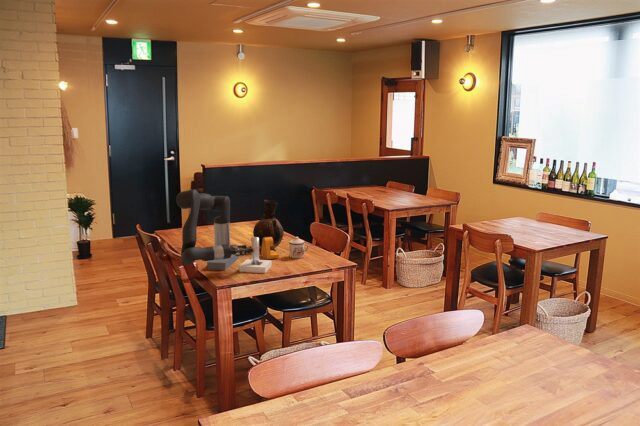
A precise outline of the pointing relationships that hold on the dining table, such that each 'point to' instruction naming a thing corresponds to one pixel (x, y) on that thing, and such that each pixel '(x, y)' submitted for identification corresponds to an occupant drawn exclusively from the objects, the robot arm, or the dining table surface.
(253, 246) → the axle
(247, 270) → the cradle
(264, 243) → the bracket
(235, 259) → the gray rectangular block
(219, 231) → the robot arm
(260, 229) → the ceramic vessel
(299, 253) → the teacup with lid
